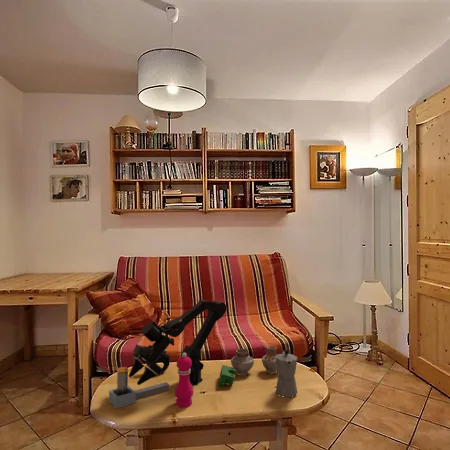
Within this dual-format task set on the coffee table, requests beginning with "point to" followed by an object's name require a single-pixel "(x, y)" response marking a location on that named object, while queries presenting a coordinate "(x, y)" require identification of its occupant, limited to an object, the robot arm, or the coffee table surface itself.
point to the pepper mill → (184, 382)
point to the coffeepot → (286, 374)
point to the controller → (164, 360)
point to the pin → (122, 381)
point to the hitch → (135, 394)
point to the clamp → (226, 375)
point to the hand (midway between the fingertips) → (133, 380)
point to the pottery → (245, 362)
